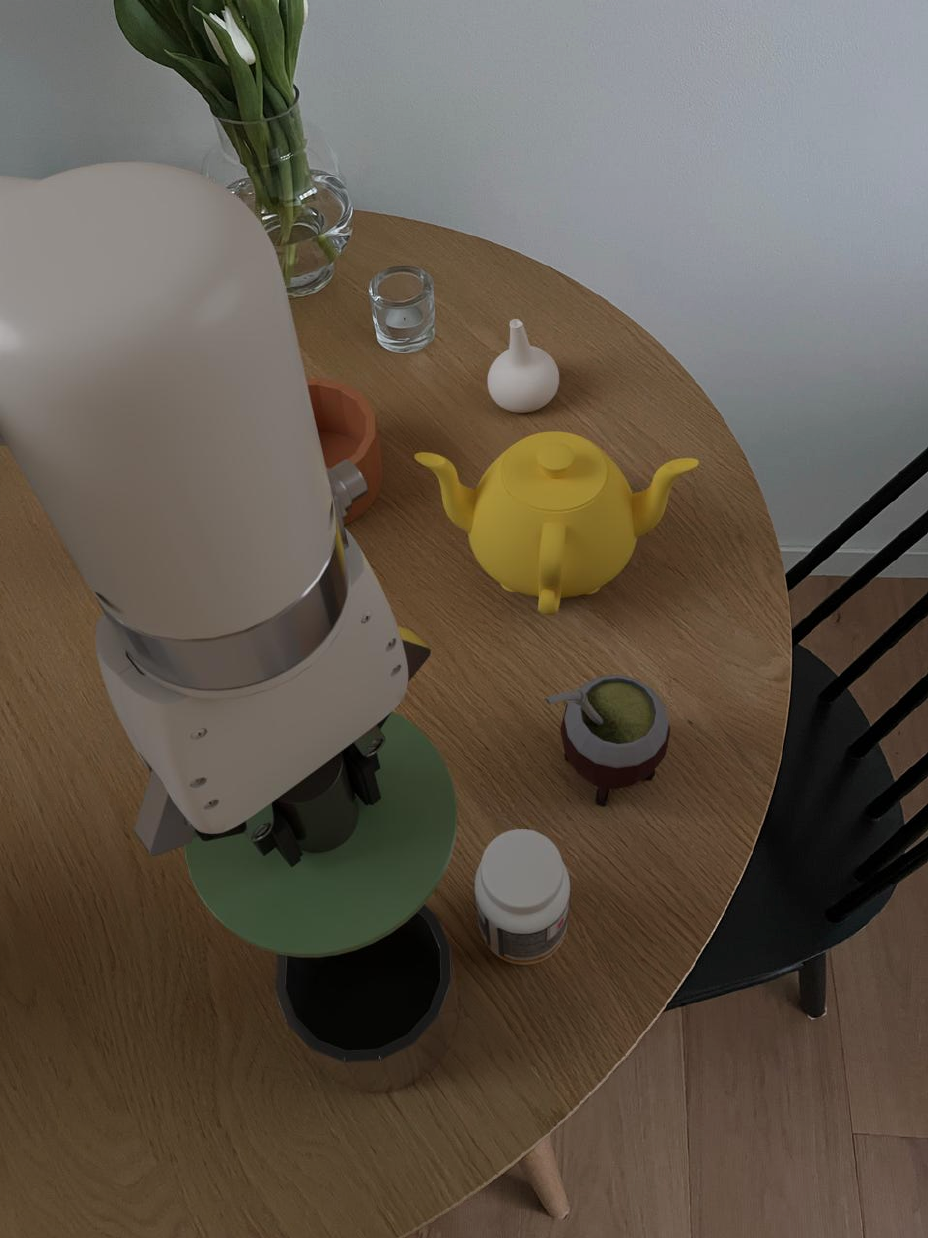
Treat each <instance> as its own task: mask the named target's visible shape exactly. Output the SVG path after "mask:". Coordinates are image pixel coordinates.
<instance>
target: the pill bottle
mask: <svg viewBox="0 0 928 1238" xmlns="http://www.w3.org/2000/svg"><path fill="white" fill-rule="evenodd" d="M571 892H572V891H571V881H570V876H569V872H568V870H567V867H566V864H565V863H564V861H563V858H562V856H561V853H560V851H559V849H558V847H557V846H556V845H555V844H554V842H553V841H551V840H550V838H548V837H547V836H546V835H544V834H543V833H540V832H538V831H537V830H532V829H527V828H515V829H510V830H507V831H504V832H502V833H500V834H498V835H497V836H496V837H494V839H492V840H491V841H490V842H489V844H488V845H487V847H486V848H485V850H484V852H483V854H482V857H481V861H480V863H479V865H478V868H477V869H476V872H475V876H474V897H475V904H476V910H477V912H476V913H477V923H478V928H479V930H480V934H481V937H482V939H483V941H484V943H485V944H486V946H487V947H488V948H489V950H490V951H491V952H492V953H493V954H494V955H495V956H497V957H498V958H500V959H501V960H503V961H505V962H507V963H509V964H515V965H521V966H522V965H523V966H524V965H525V966H527V965H533V964H534V965H535V964H538V963H540V962H543V961H545V960H546V959H548V958H550V957H551V956H552V955H553V954H555V953H556V952H557V950H558V949H559V948H560V946H561V945H562V943H563V941H564V940H565V937H566V934H567V930H568V924H569V913H570V912H569V911H570V910H569V909H570V900H571V899H570V897H571Z"/></svg>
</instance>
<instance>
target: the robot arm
mask: <svg viewBox="0 0 928 1238" xmlns="http://www.w3.org/2000/svg"><path fill="white" fill-rule="evenodd" d="M274 246H275V245H274V243H273V241H272V240H271V238H270V236H269V234H268V233H267V231H266V229H265V227H264V226H263V224H262V222H261V220H260V219H259V218H258V217H257V216H256V214H255V213H254V212H253V211H252V210H251V209H250V208H249V207H248V205H247V204H246V203H245V202H244V201H243V200H242V199H241V198H240V197H239V196H238V195H236V194H235V193H233V192H232V191H231V190H230V189H228V188H227V187H226V186H223V185H222V184H221V183H219V182H217V181H216V180H214V179H213V178H210V177H208V176H205V175H204V174H201V173H198V172H196V171H193V170H189V169H185V168H181V167H178V166H174V165H171V164H170V165H169V164H165V163H157V162H149V161H113V162H103V163H96V164H95V163H94V164H91V165H85V166H80V167H76V168H72V169H69V170H65V171H63V172H59V173H55V174H52V175H50V176H47V177H45V178H42V179H36V178H27V177H20V176H19V177H18V176H11V175H1V174H0V447H2V446H5V447H7V448H8V450H9V451H10V453H11V455H12V456H13V458H14V460H15V461H16V464H17V465H18V467H19V468H20V470H21V472H22V474H23V476H24V478H25V479H26V480H27V482H28V484H29V486H30V487H31V490H32V491H33V493H34V494H35V496H36V498H37V500H38V502H39V503H40V505H41V507H42V508H43V510H44V512H45V514H46V516H47V517H48V519H49V521H50V522H51V524H52V527H54V529H55V531H56V533H57V535H58V536H59V538H60V540H61V541H62V543H63V544H64V546H65V548H66V550H67V552H68V553H69V555H70V557H71V558H72V560H73V562H74V564H75V566H76V568H77V569H78V571H79V572H80V574H81V576H82V578H83V579H84V581H85V583H86V584H87V586H88V588H89V590H90V591H91V592H92V594H93V596H94V598H95V600H96V601H97V603H98V605H99V607H100V609H101V610H102V612H103V614H101V616H100V617H99V618H98V620H97V621H96V625H95V629H94V630H95V631H94V644H95V651H96V657H97V661H98V665H99V670H100V673H101V677H102V680H103V683H104V686H105V689H106V693H107V695H108V697H109V699H110V701H111V704H112V708H113V709H114V711H115V713H116V715H117V718H118V720H119V721H120V724H121V726H122V728H123V729H124V732H125V733H126V736H127V737H128V739H129V741H130V742H131V744H132V746H133V748H134V750H135V752H136V754H137V755H138V756H139V758H140V760H141V761H142V763H143V764H144V766H145V768H146V770H148V772H149V773H150V775H149V777H148V781H147V784H146V787H145V791H144V794H143V797H142V800H141V804H140V807H139V811H138V813H137V817H136V820H135V823H134V826H133V834H135V836H136V837H137V839H138V840H139V842H140V843H141V845H142V846H143V847H144V849H145V850H146V851H147V853H148V854H149V855H150V857H158V856H161V855H163V854H167V853H169V852H171V851H174V850H176V849H179V848H181V847H184V845H187V844H189V843H192V840H193V839H194V838H196V837H200V838H201V840H202V841H210V840H215V839H219V838H223V837H228V836H232V835H237V834H241V833H244V834H245V835H246V837H247V838H248V839H249V840H250V841H251V842H253V844H254V845H255V846H256V847H257V849H258V850H259V851H260V852H261V854H262V855H263V856H265V855H267V854H268V853H269V852H271V851H272V850H273V849H275V848H276V849H277V850H278V851H279V852H280V854H281V855H282V856H283V858H284V859H285V860H286V861H287V863H288V864H289V865H290V866H291V867H293V866H295V865H296V864H297V863H299V862H300V861H301V858H300V857H301V856H303V853H302V851H301V849H300V847H299V844H298V842H297V840H296V838H295V836H294V833H293V831H292V829H291V827H290V825H289V823H288V822H287V821H286V819H285V818H284V817H283V815H282V814H281V813H280V812H279V811H278V809H277V808H276V807H275V806H274V804H273V803H272V802H273V801H274V800H276V799H277V798H279V797H280V796H281V795H283V794H284V793H286V792H287V791H288V790H290V789H291V788H292V787H294V786H295V785H296V784H298V783H299V782H300V781H302V780H303V779H305V778H306V777H307V776H309V775H310V774H311V773H313V772H314V771H315V770H317V769H318V768H319V767H321V766H322V765H323V764H325V763H326V762H327V761H329V760H330V759H331V758H333V757H334V756H336V755H337V754H338V753H340V752H341V751H342V754H343V757H344V760H345V763H346V767H347V770H348V773H349V776H350V780H351V783H352V786H353V790H354V792H355V793H356V795H357V796H358V797H359V798H360V799H361V800H362V801H363V803H364V804H365V805H366V806H368V805H369V804H371V805H374V804H375V803H376V802H378V801H379V800H380V799H381V795H380V791H379V788H378V784H377V780H376V776H375V772H376V771H377V770H379V769H380V764H379V760H378V756H377V752H378V751H379V750H380V749H381V748H382V746H383V745H384V743H385V740H386V739H385V737H384V735H383V733H382V732H381V730H380V729H381V728H382V726H383V724H384V723H385V721H386V720H387V718H388V717H389V715H390V714H391V712H392V711H393V712H394V710H395V709H396V708H397V707H398V706H399V705H400V704H401V702H402V701H403V700H404V698H405V696H406V693H407V689H408V684H409V682H410V681H411V680H412V679H413V678H414V676H416V673H418V671H419V670H420V669H421V668H422V667H423V665H424V664H425V662H426V661H428V659H429V658H430V656H431V653H432V649H431V648H429V647H428V645H427V644H426V643H424V641H423V640H421V638H420V637H419V636H418V635H417V634H416V633H415V632H414V631H413V630H411V629H408V628H406V627H402V626H400V625H398V624H397V621H396V617H395V616H394V613H393V610H392V608H391V606H390V604H389V601H388V598H387V597H386V595H385V592H384V591H383V588H382V585H381V584H380V582H379V580H378V577H377V576H376V574H375V571H374V570H373V568H372V566H371V564H370V562H369V560H368V559H367V557H366V555H365V553H364V552H363V550H362V549H361V547H360V546H359V544H358V542H357V541H356V539H355V538H354V537H353V535H352V534H351V532H349V530H348V529H347V528H346V527H345V525H344V519H345V518H346V516H347V515H348V514H347V512H348V511H349V510H351V509H352V503H353V502H355V501H357V500H358V499H360V498H361V497H363V496H364V495H366V494H367V493H368V487H367V483H366V481H365V479H364V477H363V475H362V474H361V472H360V470H359V469H358V468H357V467H356V466H355V464H353V463H352V462H351V461H350V460H348V459H345V460H343V461H342V462H340V463H339V464H337V465H335V466H334V467H332V468H331V469H330V468H327V467H326V466H325V461H324V457H323V453H322V448H321V444H320V439H319V435H318V430H317V426H316V422H315V417H314V413H313V408H312V403H311V399H310V394H309V390H308V385H307V381H306V379H307V377H306V373H305V368H304V363H303V358H302V353H301V350H300V345H299V340H298V336H297V332H296V326H295V322H294V317H293V314H292V309H291V303H290V300H289V295H288V289H287V287H286V283H285V278H284V275H283V272H282V268H281V264H280V261H279V258H278V256H277V251H276V248H275V247H274Z"/></svg>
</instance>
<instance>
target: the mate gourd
mask: <svg viewBox="0 0 928 1238" xmlns="http://www.w3.org/2000/svg"><path fill="white" fill-rule="evenodd" d="M544 701H545V702H546V703H547V704H548V705H555V704H559V703H563V702H567V704H566V705H565V709H564V712H563V716H562V720H561V724H560V728H559V731H560V737H561V742H562V747H563V751H564V752H563V753H564V760H565V761H566V762H569V763H570V765H571V766H572V767H573V769H574V770H575V772H576V773H577V774H578V775H579V776H580V777H582V778H583V779H584V780H586V781H587V782H589V783H590V784H591V785H593V786H594V787H596V788H597V791H596V795H595V801H594V802H595V805H597V806H600V807H606V806H607V804H608V801H609V796H610V792H611V790H612V791H614V790H619V789H625V788H630V787H633V786H635V785H636V784H638V783H640V782H641V781H643V780H647V781H653V779H654V777H655V776H656V769H657V768H658V766H660V764H661V763H662V762H663V761H664V759H665V757H666V755H667V751H668V746H669V742H670V741H669V740H670V735H671V727H670V721H669V717H668V713H667V710H666V706H665V705H666V704H665V703H664V702H663V701H662V699H661V698H660V697H659V696H658V694H657V693H656V692H655V690H654V689H653V688H652V687H650V686H648V685H647V684H645V683H644V682H642V681H640V680H639V679H637V678H635V677H632V676H626V675H621V674H612V675H603V676H597V677H595V678H594V679H591V680H590V681H588V682H586V683H584V684H582V685H580V686H579V687H578V688H577V689H574V690H567V691H563V692H560V693H557V694H554V695H550V696H546V697H544Z"/></svg>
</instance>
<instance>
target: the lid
mask: <svg viewBox="0 0 928 1238" xmlns="http://www.w3.org/2000/svg"><path fill="white" fill-rule="evenodd" d="M380 730H381V732H382V733H383V735H384V737H385V739H386V740H385V743H384V745H383V746H382V748H381V749H380V750H379V751H378V752H377V756H378V760H379V764H380V769H379V770H377V771H376V772H375V776H376V780H377V784H378V788H379V791H380V795H381V799H380V800H379V801H378V802H376V803H375V804H374V805H371V804H369V805H368V806H366V805H365V804H364V803H363V801H362V800H361V799H360V798H359V797H358V796H357V795H356V793H355V792H354V790H353V786H352V783H351V780H350V776H349V773H348V770H347V767H346V763H345V760H344V757H343V754H342V751H341V752H340V753H338V754H337V755H336V756H334V757H333V758H331V759H330V760H329V761H327V762H326V763H325V764H323V765H322V766H321V767H319V768H318V769H317V770H315V771H314V772H313V773H311V774H310V775H309V776H307V777H306V778H305V779H303V780H302V781H300V782H299V783H298V784H296V785H295V786H294V787H292V788H291V789H290V790H288V791H287V792H286V793H284V794H283V795H281V796H280V797H279V798H277V799H276V800H274V801H273V802H272V803H273V804H274V806H275V807H276V808H277V809H278V811H279V812H280V813H281V814H282V815H283V817H284V818H285V819H286V821H287V822H288V823H289V825H290V827H291V829H292V831H293V833H294V836H295V838H296V840H297V842H298V844H299V847H300V849H301V851H302V853H303V856H301V857H300V858H301V861H300V862H299V863H297V864H296V865H295V866H293V867H291V866H290V865H289V864H288V863H287V861H286V860H285V859H284V858H283V856H282V855H281V854H280V852H279V851H278V850H277V849H276V848H275V849H273V850H272V851H271V852H269V853H268V854H267V855H265V856H263V855H262V854H261V852H260V851H259V850H258V849H257V847H256V846H255V845H254V844H253V842H251V841H250V840H249V839H248V838H247V837H246V835H245V834H244V833H241V834H237V835H232V836H228V837H223V838H219V839H215V840H210V841H202V840H201V838H200V837H196V838H194V839H193V840H192V843H189V844H187V845H184V846H183V847H184V855H185V856H184V857H185V859H184V860H185V862H186V866H187V869H188V875H189V877H190V879H191V882H192V884H193V886H194V888H195V891H196V892H197V894H198V896H199V897H200V899H201V902H203V905H205V907H206V908H207V910H208V911H209V912H210V913H211V914H212V915H213V917H214V918H215V919H216V920H217V922H219V923H220V924H221V925H222V926H223V927H224V928H226V929H227V930H228V931H229V932H230V933H231V934H233V935H235V936H236V937H237V938H239V939H240V940H242V941H244V942H245V943H246V944H250V945H252V946H254V947H256V948H259V949H261V950H263V951H266V952H270V953H274V954H276V955H277V954H280V955H287V956H294V957H325V956H333V955H339V954H343V953H347V952H351V951H354V950H357V949H360V948H362V947H365V946H367V945H370V944H372V943H375V942H376V941H378V940H380V939H382V938H384V937H385V936H387V935H389V934H391V933H392V932H394V931H395V930H396V929H398V928H399V927H400V926H402V925H403V924H404V923H406V922H407V921H408V920H409V919H410V918H411V917H412V916H413V915H414V914H415V913H417V912H418V911H419V910H420V909H421V907H422V906H423V905H424V904H425V905H426V903H427V902H428V901H429V899H430V898H431V897H432V896H433V894H434V892H435V891H436V890H437V888H438V886H439V884H440V883H441V882H442V879H443V877H444V875H445V873H446V870H447V868H448V866H449V864H450V861H451V858H452V855H453V852H454V850H455V849H454V848H455V845H456V839H457V832H458V804H457V796H456V790H455V787H454V782H453V779H452V775H451V773H450V771H449V769H448V766H447V764H446V761H445V759H444V758H443V757H442V755H441V753H440V752H439V750H438V748H437V747H436V746H435V744H434V743H433V742H432V740H431V739H430V738H429V737H428V736H427V735H426V734H425V733H424V732H423V731H422V730H421V729H420V728H419V727H417V726H416V724H414V723H413V722H411V721H410V720H408V719H407V718H405V717H404V716H403V715H401V714H399V713H397V712H395V711H394V710H393V711H392V712H391V714H390V715H389V717H388V718H387V720H386V721H385V723H384V724H383V726H382V728H381V729H380Z"/></svg>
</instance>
